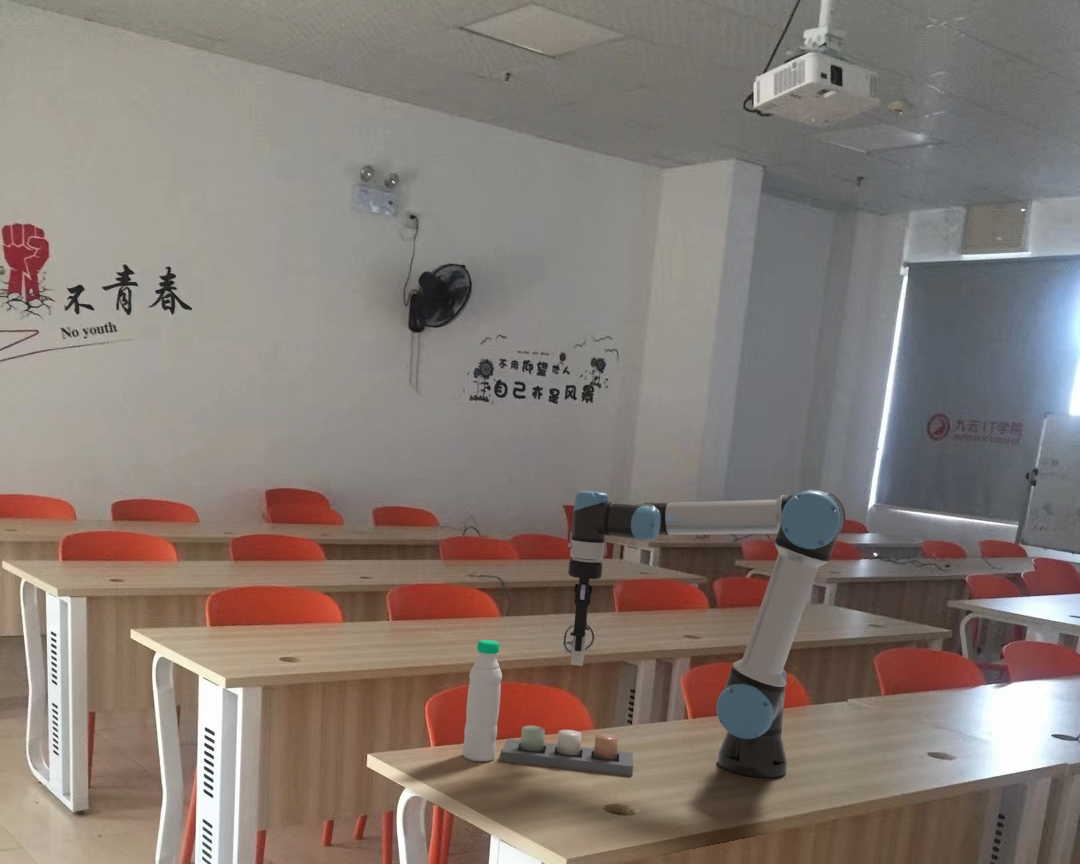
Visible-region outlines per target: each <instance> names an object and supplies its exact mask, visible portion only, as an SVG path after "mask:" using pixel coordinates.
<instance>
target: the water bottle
mask: <svg viewBox="0 0 1080 864" xmlns="http://www.w3.org/2000/svg"><path fill="white" fill-rule="evenodd" d="M476 651H477V652H476V653H477V654H478V657H477V659H476V660H475V662H474V664H473V666H472V668H471V670H470V671H469V675H468V676H469V683H468V684H469V685H468V690H467V698H466V699H467V700H466V710H465V711H466V713H465V714H466V716H465V719H466V721H465V725H464V732H463V733H464V735H463V736H464V740H463V745H462V756H463V757H464V758H465V759H467V760H469V761H472V762H484V761H485V762H490V761H492V760H493V759H495V756H496V752H497V751H496V750H497V743H496V740H497V738H498V721H499V714H500V706H501V686H502V685H501V682H502V679H503V673H502V670H501V668H500V664H499V661H498V659H497V657H498V655H499V652H500V643H499V642H498V641H496V640H491V639H482V640H481V639H480V640H478V642H477V646H476ZM485 762H484V763H485Z"/></svg>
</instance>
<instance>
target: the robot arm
mask: <svg viewBox="0 0 1080 864" xmlns="http://www.w3.org/2000/svg"><path fill="white" fill-rule="evenodd" d="M574 498H575V500H574V504H573V505H574V507H573V509H572V512H573V514H572V516H573V517H572V526H571V527H572V529H571V530H572V531H571V540H570V542H569V543H568V545H567V547H568V548H570V553H569V554H570V557H571V559H570V560H569V561H568V572H567V574H568V575H569V576H570V577H572V578H578V583H575V585H574V605H575V614H574V624H573V625H574V626H573V631H571V632H570V634H569V635H570V637H571V636H572V643H571V654H570V655H571V656H570V666H579V667H583V665H584V660H585V649H586V640H587V639H586V638H587V631H590V626H589V625H588V622H587V620H588V608H589V607H590V603H591V598H592V597H591V596H592V594H593V585H592V584H591V583H590V580H600V579H601V578H602V573H603V562H602V560H604V553H605V540H606V539H605V538H606V536H608V537H616V538H624V539H631V540H632V539H633V540H637V541H641V542H642V541H650V542H652V541H655V540H656V539H657V537H658V536H675V535H676V536H683V535H684V536H688V535H690V536H691V535H694V536H695V535H757V534H759V535H763V534H767V535H768V534H772V535H773V534H775V535H776V534H777V535H776V538H775V541H774V546H775V548H776V550H777V552H778V555H777V557H776V560H775V563H774V566H773V569H772V572H771V575H770V578H769V581H768V583H767V586H766V590H765V591H764V595H763V599H762V600H761V601H762V602H761V604H760V607H759V609H758V610H759V611H758V613H757V615H756V618H755V622H754V625H753V626H752V627H753V628H752V630H751V633H750V637H749V639H748V642H747V645H746V648H745V651H744V654H743V656H742V658H741V659H739V660H737V661H734V662H733V663H732V666H731V669H730V672H729V675H728V677H727V680H726V684H725V686H724V689H723V690H722V691H721V693H720V694H719V696H718V697H717V702H716V715H717V718H718V721H719V723H720V724H721V726H722V727H723V729H725V731H727V733H726V734H725V737H724V740H723V741H722V744H721V746H720V748H719V751H718V757H717V758H718V759H717V763H718V765H719V766H721V767H722V768H724V769H725V770H726V771H727V770H728V771H730V772H733V773H735V774H740V775H744V776H748V777H755V778H778V777H782V776H785V775H786V774H787V770H788V769H787V767H788V760H787V757H786V751H785V747H784V742H783V738H782V731H783V723H784V722H783V720H784V719H783V718H784V710H785V708H784V707H785V695H786V686H787V684H788V683H787V682H788V681H787V672H786V670H785V669H784V668H785V665H786V662H787V660H788V657H789V653H790V650H791V648H792V645H793V642H794V639H795V636H796V633H797V630H798V628H799V625H800V621H801V619H802V616H803V613H804V610H805V607H806V605H807V602H808V599H809V596H810V593H811V590H812V587H813V585H814V582H815V579H816V575H817V573H818V569H819V568H820V567H821V566H823V565H826V564H828V563H829V561H830V559H831V556H832V552H833V550H834V547H835V544H836V542H837V538H838V536H839V535H840V533H841V532H842V530H843V529H844V526H845V523H846V511H845V507H844V505H843V504H842V502H841V501H840V499H839V498H838V497H837V496H836V495H834V494H833V493H831V492H830V491H827V490H822V489H804V490H802V491H800V492H796V493H795V494H781V495H780V497H778V498H777V499H758V500H757V499H756V500H755V499H753V500H752V499H751V500H750V499H749V500H722V501H721V500H718V501H716V500H715V501H684V502H683V501H682V502H679V501H678V502H676V501H675V502H643V503H637V504H630V503H629V504H627V503H615V502H612V501H611V502H610V500H609V494H607V493H606V492H602V491H590V490H580V491H578V492H577V493H576V494H575V497H574Z"/></svg>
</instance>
